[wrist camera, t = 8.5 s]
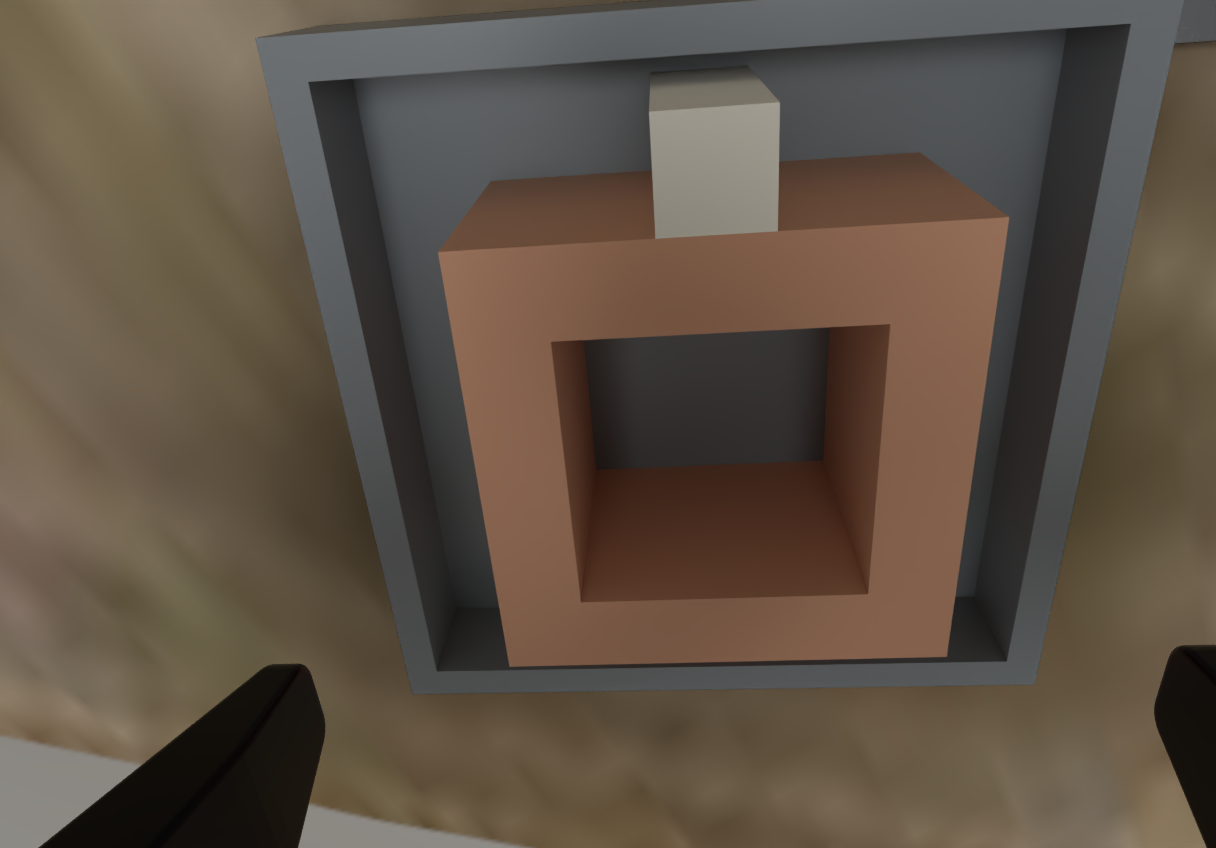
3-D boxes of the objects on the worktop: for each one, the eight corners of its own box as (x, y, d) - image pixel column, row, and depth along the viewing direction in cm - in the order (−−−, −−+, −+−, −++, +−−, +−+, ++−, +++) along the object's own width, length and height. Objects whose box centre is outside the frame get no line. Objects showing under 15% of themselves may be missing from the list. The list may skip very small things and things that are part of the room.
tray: (1100, -34, 13) (1191, -34, 11) (990, 600, 19) (1034, 684, 17) (317, 26, 14) (255, 38, 12) (439, 612, 20) (412, 693, 18)
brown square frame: (887, 514, 17) (946, 656, 14) (538, 526, 18) (509, 666, 14) (928, 50, 13) (1028, 83, 10) (477, 85, 14) (416, 128, 10)
